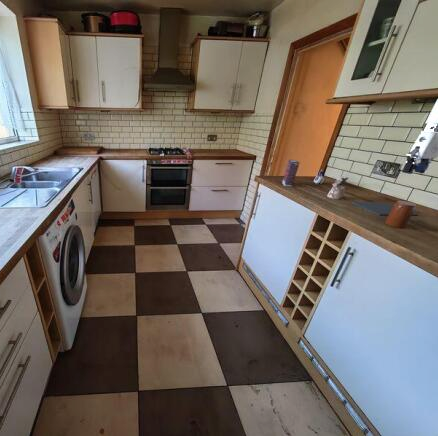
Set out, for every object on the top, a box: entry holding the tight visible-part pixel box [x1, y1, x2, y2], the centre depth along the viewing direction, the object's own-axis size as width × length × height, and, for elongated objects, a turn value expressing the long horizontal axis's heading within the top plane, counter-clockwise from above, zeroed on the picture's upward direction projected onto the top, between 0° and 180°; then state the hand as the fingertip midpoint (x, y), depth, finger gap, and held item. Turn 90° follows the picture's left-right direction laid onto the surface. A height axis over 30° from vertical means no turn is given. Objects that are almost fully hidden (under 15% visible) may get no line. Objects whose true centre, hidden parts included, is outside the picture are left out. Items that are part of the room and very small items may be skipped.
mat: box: [351, 201, 419, 217], centre depth 117 cm, size 20×16×1 cm
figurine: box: [327, 176, 349, 200], centre depth 129 cm, size 7×7×12 cm
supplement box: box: [281, 159, 300, 188], centre depth 149 cm, size 9×5×16 cm, turn 161°
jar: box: [384, 200, 417, 229], centre depth 98 cm, size 6×6×10 cm
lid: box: [403, 162, 430, 171], centre depth 98 cm, size 7×7×2 cm
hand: (412, 172), depth 99 cm, fingers closed on lid, 6 cm apart
